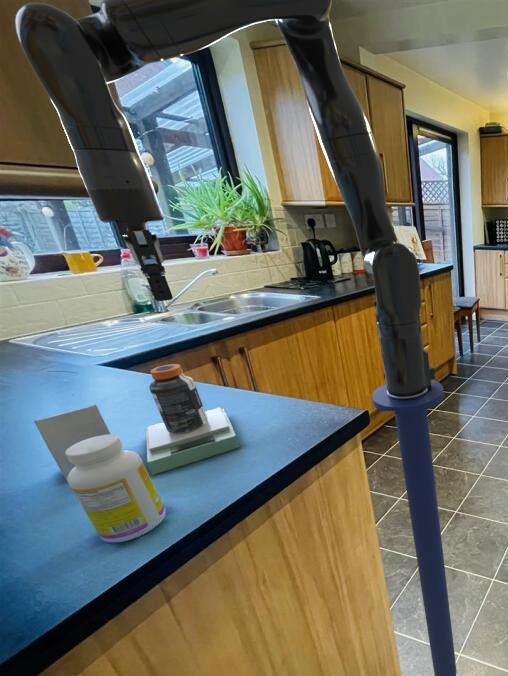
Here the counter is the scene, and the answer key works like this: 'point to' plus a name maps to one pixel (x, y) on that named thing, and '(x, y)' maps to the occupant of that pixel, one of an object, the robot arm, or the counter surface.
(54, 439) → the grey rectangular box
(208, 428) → the scale
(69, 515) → the counter surface
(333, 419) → the counter surface
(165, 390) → the pill bottle
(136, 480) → the supplement bottle
